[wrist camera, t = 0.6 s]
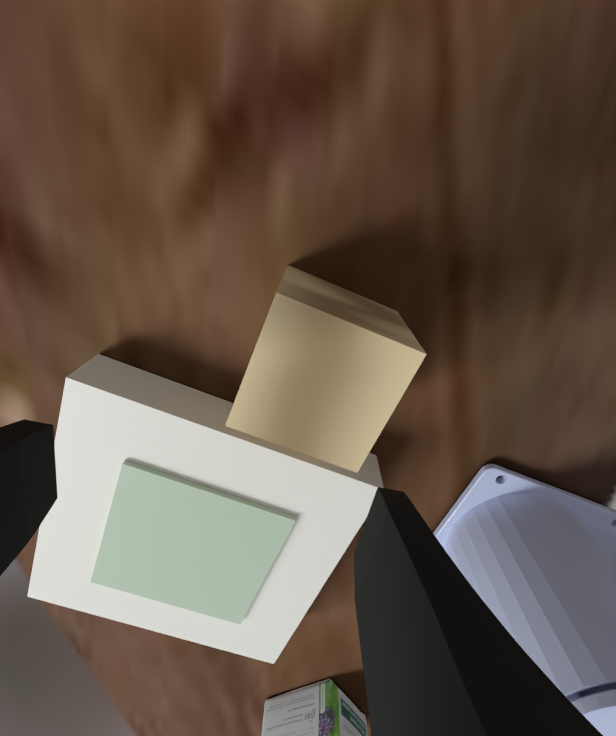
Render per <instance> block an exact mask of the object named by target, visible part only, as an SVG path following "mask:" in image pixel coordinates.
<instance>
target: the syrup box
mask: <svg viewBox="0 0 616 736" xmlns="http://www.w3.org/2000/svg"><path fill="white" fill-rule="evenodd" d="M262 736H367V723H366V718H365V715H364V714H363V713H362V712H360V711H359V710H358V709H357V707H356V706H355V705H354V704H353V703H352V702H351V701H350V699H349V698H348V697H347V696H346V695H345V694H344V693H343V692H342V691H341V690H340V689H339V688H338V687H337V686H336V685H335V683H334V682H333V681H332V680H331V679H327V680H324V681H320V682H317V683H315V684H312V685H308V686H305V687H302V688H299V689H296V690H293V691H290V692H287V693H285V694H282V695H279V696H276V697H273V698H270V699H267V700H266V701H265V707H264V716H263V725H262Z"/></svg>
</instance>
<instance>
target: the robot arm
mask: <svg viewBox="0 0 616 736" xmlns="http://www.w3.org/2000/svg"><path fill="white" fill-rule="evenodd" d="M501 475H502V477H501V478H498V479H496V478H497V477H498V476H501ZM56 500H57V481H56V464H55V448H54V431H53V425H51V424H45V423H40V422H35V421H30V420H21V421H18V422H15V423H12V424H9V425H6V426H3V427H0V576H1V574H2V573H3V572H4V571H5V570H6V568H7V567H8V566H9V565H10V564H11V562H12V561H13V560H14V559H15V558H16V557H17V555H18V554H19V553H20V552H21V550H22V549H23V548H24V547H25V546H26V544H27V543H28V542H29V540H30V539H31V538H32V536H33V535H34V533H35V532H36V530H37V529H38V527H39V526H40V524H41V523H42V522H43V520H44V518H45V517H46V515H47V514H48V512H49V511H50V509H51V507H52V506H53V504H54V503H55V501H56ZM354 577H355V603H356V612H357V621H358V629H359V638H360V646H361V654H362V662H363V670H364V678H365V686H366V694H367V702H368V710H369V718H370V728H371V736H616V510H614V509H611V508H609V507H606V506H603V505H601V504H598V503H595V502H593V501H590V500H588V499H585V498H582V497H580V496H577V495H574V494H572V493H569V492H566V491H564V490H561V489H559V488H556V487H553V486H551V485H548V484H545V483H543V482H540V481H537V480H535V479H532V478H530V477H527V476H524V475H522V474H519V473H516V472H514V471H511V470H508V469H506V468H503V467H501V466H498V465H495V464H487V465H485V466H483V467H482V468H481V469H480V470H479V472H478V473H477V474H476V476H475V477H474V478H473V480H472V481H471V483H470V484H469V485H468V487H467V488H466V489H465V491H464V492H463V493H462V495H461V496H460V497H459V499H458V500H457V501H456V503H455V504H454V505H453V507H452V508H451V509H450V511H449V512H448V513H447V515H446V516H445V518H444V519H443V520H442V522H441V523H440V524H439V526H438V527H437V528H436V530H435V531H434V532H433V533H432V531H431V530H430V528H429V527H428V525H427V524H426V522H425V521H424V520H423V518H422V517H421V515H420V514H419V512H418V511H417V510H416V508H415V507H414V505H413V504H412V502H411V501H410V500H409V498H408V497H407V495H406V494H405V493H404V492H401V491H396V490H391V489H386V488H380V487H378V488H377V491H376V493H375V496H374V499H373V502H372V505H371V507H370V510H369V513H368V516H367V518H366V521H365V524H364V527H363V529H362V532H361V535H360V538H359V540H358V543H357V546H356V549H355V551H354Z"/></svg>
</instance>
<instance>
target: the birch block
mask: <svg viewBox="0 0 616 736" xmlns="http://www.w3.org/2000/svg"><path fill="white" fill-rule="evenodd" d="M426 355H427V354H426V353H425V351H424V350H423V348H422V347H421V345H420V344H419V342H418V341H417V339H416V338H415V336H414V335H413V333H412V332H411V331H410V329H409V328H408V326H407V325H406V323H405V322H404V320H403V319H402V317H401V316H400V314H399V313H398V311H396V310H393V309H391V308H389V307H386V306H384V305H382V304H379V303H377V302H374V301H372V300H370V299H367V298H365V297H363V296H360V295H358V294H356V293H353V292H351V291H349V290H346V289H344V288H342V287H339V286H337V285H334V284H332V283H330V282H327V281H325V280H323V279H320V278H318V277H316V276H313V275H311V274H309V273H306V272H304V271H301V270H299V269H297V268H294V267H292V266H290V265H288V266H287V269H286V271H285V273H284V276H283V278H282V280H281V283H280V285H279V288H278V290H277V292H276V295H275V297H274V300H273V303H272V305H271V308H270V310H269V313H268V316H267V318H266V321H265V323H264V326H263V329H262V331H261V334H260V336H259V339H258V342H257V344H256V347H255V349H254V352H253V355H252V357H251V360H250V362H249V365H248V367H247V370H246V373H245V375H244V378H243V380H242V383H241V386H240V388H239V391H238V393H237V396H236V399H235V401H234V404H233V406H232V409H231V412H230V414H229V417H228V419H227V422H226V425H225V426H227V427H230V428H233V429H235V430H238V431H241V432H244V433H247V434H249V435H252V436H255V437H258V438H261V439H263V440H266V441H269V442H272V443H275V444H277V445H280V446H283V447H286V448H289V449H291V450H294V451H297V452H300V453H303V454H306V455H308V456H311V457H314V458H317V459H320V460H322V461H325V462H328V463H331V464H334V465H336V466H339V467H342V468H345V469H348V470H350V471H353V472H356V473H358V471H359V469H360V468H361V466H362V464H363V462H364V461H365V459H366V457H367V456H368V454H369V452H370V450H371V449H372V447H373V445H374V444H375V442H376V440H377V438H378V437H379V435H380V433H381V432H382V430H383V428H384V426H385V425H386V423H387V421H388V420H389V418H390V416H391V414H392V413H393V411H394V409H395V408H396V406H397V404H398V402H399V401H400V399H401V397H402V396H403V394H404V392H405V391H406V389H407V387H408V385H409V384H410V382H411V380H412V379H413V377H414V375H415V373H416V372H417V370H418V368H419V367H420V365H421V363H422V361H423V360H424V358H425V356H426Z"/></svg>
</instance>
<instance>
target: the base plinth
mask: <svg viewBox="0 0 616 736" xmlns="http://www.w3.org/2000/svg"><path fill="white" fill-rule="evenodd" d="M233 404H234V403H232V402H229V401H226V400H223V399H221V398H218V397H215V396H212V395H210V394H207V393H204V392H202V391H199V390H196V389H193V388H191V387H188V386H185V385H182V384H180V383H177V382H174V381H171V380H169V379H166V378H163V377H160V376H158V375H155V374H152V373H150V372H147V371H144V370H141V369H139V368H136V367H133V366H130V365H128V364H125V363H122V362H119V361H117V360H114V359H111V358H108V357H106V356H103V355H100V354H98V355H96V356H95V357H94V358H92V359H91V360H89V361H88V362H87V363H85V364H84V365H82V366H81V367H80V368H78V369H77V370H76V371H74V372H73V373H71V374H70V375H69V376H67V377H66V381H65V386H64V392H63V398H62V403H61V409H60V415H59V420H58V426H57V432H56V437H55V443H54V448H55V464H56V481H57V500H56V501H55V503H54V504H53V506H52V507H51V509H50V511H49V512H48V514H47V515H46V517H45V518H44V520H43V522H42V523H41V524H40V528H39V534H38V539H37V545H36V551H35V556H34V562H33V568H32V573H31V579H30V585H29V590H28V597H31V598H35V599H38V600H42V601H46V602H49V603H53V604H57V605H60V606H64V607H68V608H71V609H75V610H79V611H82V612H86V613H90V614H93V615H97V616H101V617H104V618H108V619H111V620H115V621H119V622H122V623H126V624H130V625H133V626H137V627H141V628H144V629H148V630H152V631H155V632H159V633H163V634H166V635H170V636H174V637H177V638H181V639H184V640H188V641H192V642H195V643H199V644H203V645H206V646H210V647H214V648H217V649H221V650H225V651H228V652H232V653H236V654H239V655H243V656H247V657H250V658H254V659H257V660H261V661H265V662H268V663H272V664H274V663H275V661H276V660H277V658H278V656H279V655H280V653H281V652H282V650H283V649H284V647H285V645H286V644H287V642H288V641H289V639H290V637H291V636H292V634H293V633H294V631H295V630H296V628H297V626H298V625H299V623H300V622H301V620H302V619H303V617H304V615H305V614H306V612H307V611H308V609H309V608H310V606H311V604H312V603H313V601H314V600H315V598H316V596H317V595H318V593H319V592H320V590H321V589H322V587H323V585H324V584H325V582H326V581H327V579H328V578H329V576H330V574H331V573H332V571H333V570H334V568H335V566H336V565H337V563H338V562H339V560H340V559H341V557H342V555H343V554H344V552H345V551H346V549H347V548H348V546H349V544H350V543H351V541H352V540H353V538H354V536H355V535H356V533H357V532H358V530H359V529H360V527H361V525H362V524H363V522H364V521H365V519H366V518H367V516H368V513H369V510H370V507H371V505H372V502H373V499H374V496H375V493H376V491H377V488H378V487H380V488H384V487H383V483H382V478H381V474H380V469H379V465H378V460H377V456H376V455H374V454H371V453H369V454H368V456H367V457H366V459H365V461H364V462H363V464H362V466H361V468H360V469H359V471H358V473H356V472H353V471H350V470H348V469H345V468H342V467H339V466H336V465H334V464H331V463H328V462H325V461H322V460H320V459H317V458H314V457H311V456H308V455H306V454H303V453H300V452H297V451H294V450H291V449H289V448H286V447H283V446H280V445H277V444H275V443H272V442H269V441H266V440H263V439H261V438H258V437H255V436H252V435H249V434H247V433H244V432H241V431H238V430H235V429H233V428H230V427H227V426H225V425H226V422H227V419H228V417H229V414H230V412H231V409H232V406H233Z"/></svg>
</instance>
